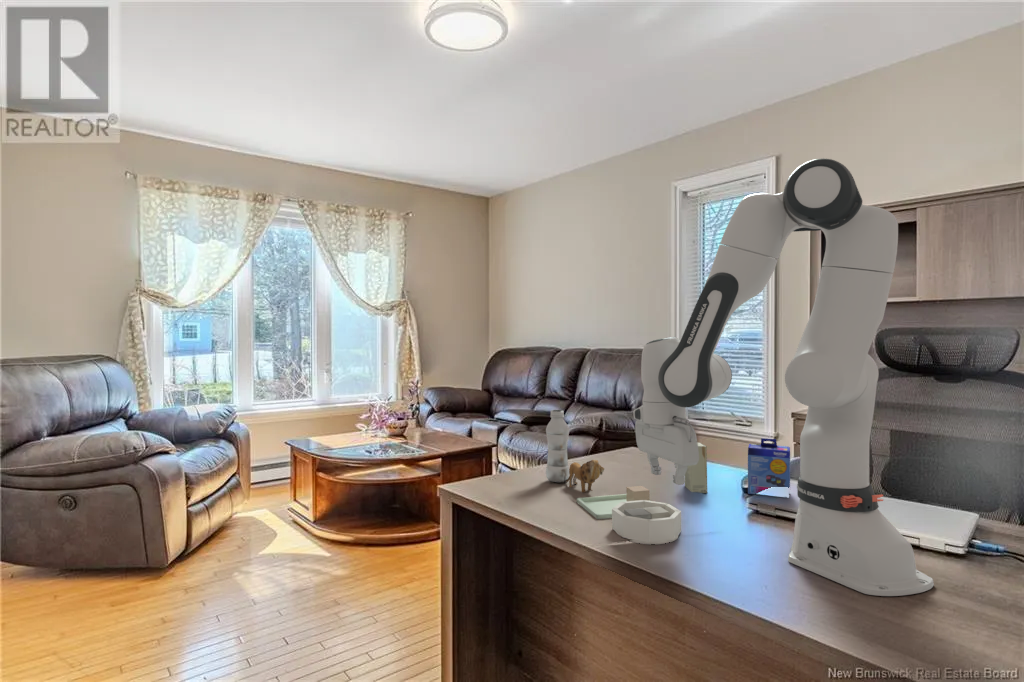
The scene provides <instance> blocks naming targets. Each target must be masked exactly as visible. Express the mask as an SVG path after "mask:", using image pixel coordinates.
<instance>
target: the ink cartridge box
mask: <svg viewBox="0 0 1024 682" xmlns="http://www.w3.org/2000/svg"><path fill="white" fill-rule="evenodd" d="M769 442H770V443H769ZM771 487H788V488H789V487H790V488H791V447H790V446H786V445H785V446H784V445H778V443H777V439H776V438H763V437H762V438H761V439H760V443H749V444H748V448H747V494H748V495H755V493H758V492H760V491H762V490H765V489H768V488H771Z"/></svg>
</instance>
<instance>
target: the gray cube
mask: <svg viewBox="0 0 1024 682" xmlns="http://www.w3.org/2000/svg"><path fill="white" fill-rule="evenodd" d="M624 514H625V515H626V516H631V517H637V518H643V519H651V514H650V513H649V512H647V511H645V510H644V509H642V508H638V509H627V510H624Z"/></svg>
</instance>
